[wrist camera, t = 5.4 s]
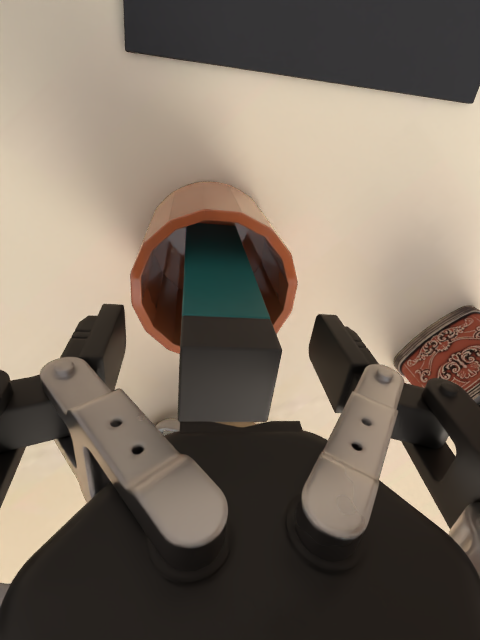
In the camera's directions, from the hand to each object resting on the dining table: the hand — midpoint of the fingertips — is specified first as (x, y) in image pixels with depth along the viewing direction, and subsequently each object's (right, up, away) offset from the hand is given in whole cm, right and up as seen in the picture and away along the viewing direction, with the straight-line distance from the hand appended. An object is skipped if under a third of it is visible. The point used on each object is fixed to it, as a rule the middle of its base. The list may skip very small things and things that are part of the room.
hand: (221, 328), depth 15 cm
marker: (-1, +5, +9) cm, 10 cm away
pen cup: (-1, +5, +9) cm, 11 cm away
